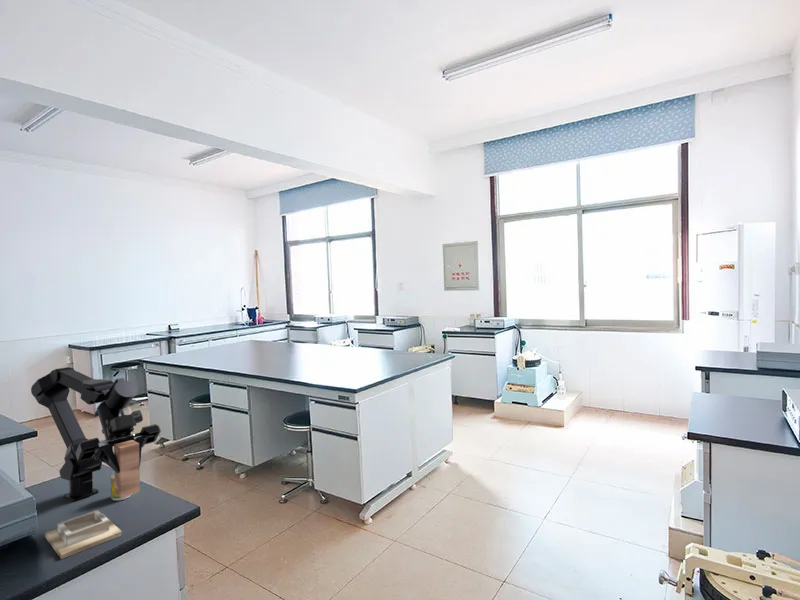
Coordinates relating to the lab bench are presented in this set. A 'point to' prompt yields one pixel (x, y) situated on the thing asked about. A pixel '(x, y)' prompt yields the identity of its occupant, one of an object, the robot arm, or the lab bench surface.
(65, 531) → the socket holder
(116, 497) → the supplement bottle
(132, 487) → the peg
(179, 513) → the lab bench surface
